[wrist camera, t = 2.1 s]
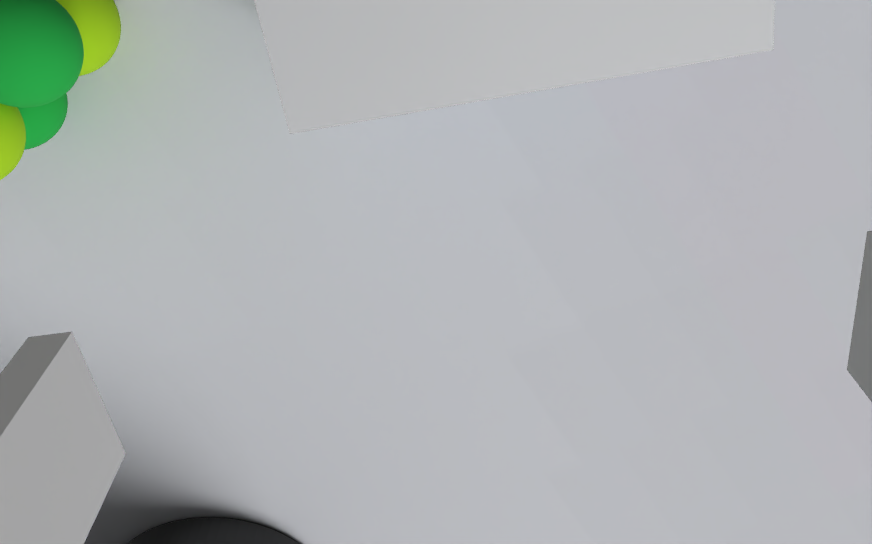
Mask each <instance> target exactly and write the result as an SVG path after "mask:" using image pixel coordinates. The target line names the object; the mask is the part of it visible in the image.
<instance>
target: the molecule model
mask: <svg viewBox="0 0 872 544" xmlns="http://www.w3.org/2000/svg"><path fill="white" fill-rule="evenodd" d="M120 33H121V23H120V17H119V13H118V10H117V7H116V5H115V3H114V1H113V0H0V180H1V179H3V178H4V177H5V176H7V175H8V174H9V173H10V172H11V171H12V170H13V169H14V168H15V167H16V165H17V164H18V162H19V161H20V159H21V157H22V154H23V152H24V149H30V148H34V147H36V146H39V145H41V144H43V143H45V142H47V141H48V140H49V139H51V138H52V137H53V136H54V135H55V134H56V133H57V132H58V130H59V129H60V128H61V126H62V124H63V122H64V120H65V117H66V113H67V106H68V101H67V94H66V93H67V92H68V91H69V90H70V89H71V88H72V86H73V85H74V84H75V82H76V80H77V79H78V77H79V76H81V75H85V74H89V73H91V72H93V71H95V70H97V69H99V68H100V67H102V66H103V65H104V64H105V63H107V62H108V61H109V59H110V58H111V57H112V55H113V54H114V52H115V51H116V48H117V46H118V43H119V40H120Z"/></svg>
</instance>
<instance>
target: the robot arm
mask: <svg viewBox="0 0 872 544" xmlns="http://www.w3.org/2000/svg"><path fill="white" fill-rule="evenodd" d="M847 370H848V372H849V373H850V374H851V376H852V377H853V378H854V380H855V381H856V382H857V383H858V385H859V386H860V387H861V389H862V390H863V391H864V393H865V394H866V395H867V396H868V398H869V399H870V400H871V402H872V231H867V237H866V243H865V250H864V257H863V264H862V271H861V278H860V284H859V291H858V298H857V305H856V312H855V318H854V325H853V332H852V339H851V346H850V352H849V359H848V366H847ZM125 455H126V453H125V451H124V448H123V446H122V444H121V442H120V439H119V437H118V435H117V433H116V430H115V428H114V426H113V424H112V421H111V419H110V417H109V414H108V412H107V410H106V408H105V405H104V403H103V401H102V399H101V396H100V394H99V392H98V390H97V387H96V385H95V383H94V381H93V378H92V376H91V374H90V371H89V369H88V367H87V365H86V362H85V360H84V358H83V356H82V353H81V351H80V349H79V347H78V344H77V342H76V340H75V337H74V335H73V333H72V332H66V333H58V334H50V335H42V336H34V337H28V338H27V340H26V341H25V342H24V344H23V345H22V346H21V347H20V349H19V350H18V351H17V353H16V354H15V355H14V357H13V358H12V359H11V361H10V362H9V363H8V365H7V366H6V367H5V369H4V370H3V371H2V372H1V374H0V544H84V542H85V540H86V538H87V536H88V534H89V532H90V530H91V527H92V525H93V523H94V521H95V519H96V517H97V515H98V512H99V510H100V508H101V506H102V504H103V502H104V500H105V497H106V495H107V493H108V491H109V489H110V487H111V485H112V483H113V480H114V478H115V476H116V474H117V472H118V470H119V468H120V465H121V463H122V461H123V459H124V457H125ZM128 544H299V543H297V542H296V541H294V540H292V539H291V538H289V537H287V536H285V535H283V534H281V533H279V532H277V531H275V530H272V529H270V528H267V527H264V526H261V525H258V524H254V523H250V522H246V521H241V520H234V519H226V518H193V519H185V520H179V521H175V522H170V523H167V524H164V525H160V526H158V527H155V528H153V529H150V530H148V531H146V532H144V533H142V534H141V535H139V536H137V537H136V538H134V539H133V540H132V541H130V542H129V543H128Z"/></svg>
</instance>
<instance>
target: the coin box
mask: <svg viewBox="0 0 872 544" xmlns="http://www.w3.org/2000/svg"><path fill="white" fill-rule="evenodd" d="M254 3H255V6H256V10H257V14H258V18H259V21H260V25H261V29H262V32H263V36H264V40H265V44H266V47H267V51H268V55H269V58H270V62H271V66H272V70H273V73H274V77H275V81H276V85H277V88H278V92H279V96H280V99H281V103H282V107H283V111H284V114H285V118H286V122H287V125H288V129H289V133H290V134H293V133H299V132H305V131H310V130H316V129H322V128H328V127H333V126H339V125H345V124H351V123H357V122H362V121H368V120H374V119H380V118H385V117H391V116H397V115H403V114H408V113H414V112H420V111H426V110H431V109H437V108H443V107H449V106H455V105H460V104H466V103H472V102H478V101H483V100H489V99H495V98H501V97H506V96H512V95H518V94H524V93H530V92H535V91H541V90H547V89H553V88H558V87H564V86H570V85H576V84H581V83H587V82H593V81H599V80H605V79H610V78H616V77H622V76H628V75H633V74H639V73H645V72H651V71H656V70H662V69H668V68H674V67H679V66H685V65H691V64H697V63H703V62H708V61H714V60H720V59H726V58H731V57H737V56H743V55H749V54H754V53H760V52H766V51H772V50H773V44H774V17H775V0H254Z"/></svg>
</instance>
